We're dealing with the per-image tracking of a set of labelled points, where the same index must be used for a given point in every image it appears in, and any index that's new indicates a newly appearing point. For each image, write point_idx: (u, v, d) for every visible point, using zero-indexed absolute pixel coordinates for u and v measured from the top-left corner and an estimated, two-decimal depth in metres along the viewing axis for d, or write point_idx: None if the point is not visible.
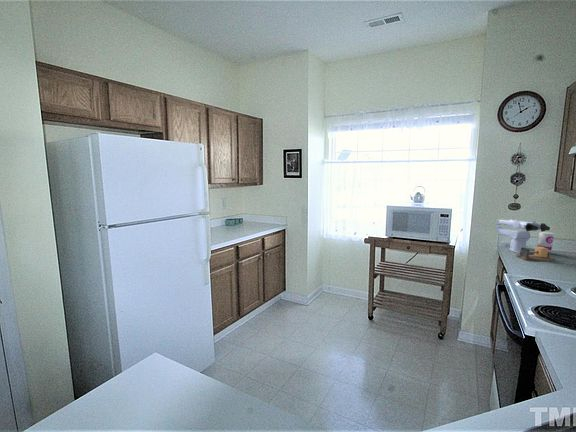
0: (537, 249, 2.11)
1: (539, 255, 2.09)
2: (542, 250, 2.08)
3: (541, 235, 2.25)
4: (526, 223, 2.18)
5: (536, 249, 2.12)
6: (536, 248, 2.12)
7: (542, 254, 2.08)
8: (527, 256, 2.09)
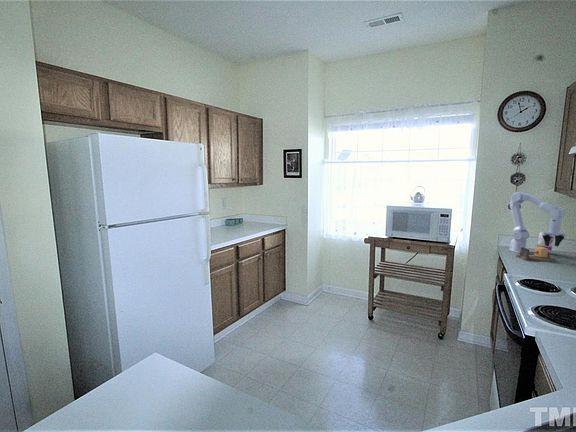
0: (537, 249, 2.11)
1: (539, 255, 2.09)
2: (542, 250, 2.08)
3: (541, 235, 2.25)
4: (553, 228, 2.06)
5: (536, 249, 2.12)
6: (536, 248, 2.12)
7: (542, 254, 2.08)
8: (527, 256, 2.09)
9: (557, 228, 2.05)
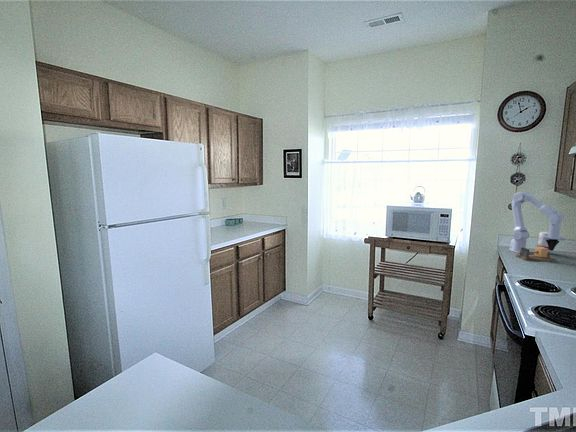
0: (537, 249, 2.11)
1: (539, 255, 2.09)
2: (542, 250, 2.08)
3: (541, 235, 2.25)
4: (553, 232, 2.06)
5: (536, 249, 2.12)
6: (536, 248, 2.12)
7: (542, 254, 2.08)
8: (527, 256, 2.09)
9: (556, 232, 2.05)
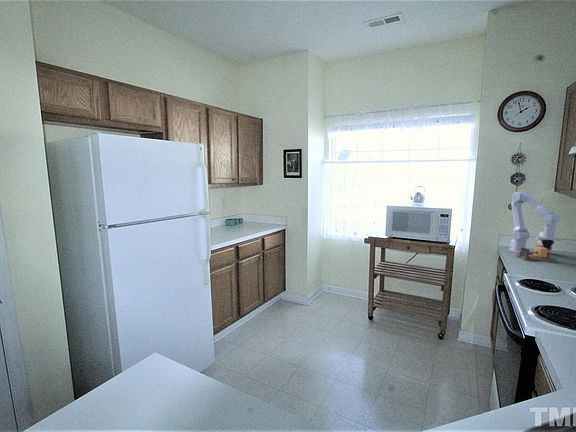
0: (536, 249, 2.11)
1: (538, 255, 2.09)
2: (541, 250, 2.08)
3: (541, 235, 2.25)
4: (548, 233, 2.07)
5: (535, 249, 2.12)
6: (535, 248, 2.12)
7: (541, 254, 2.08)
8: (527, 256, 2.09)
9: (551, 233, 2.06)
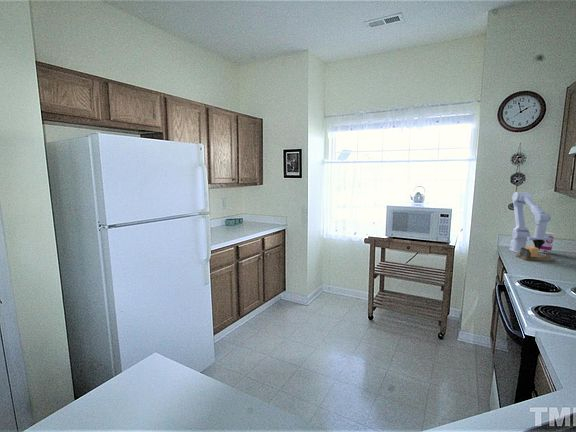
0: None
1: (530, 255, 2.09)
2: (533, 250, 2.08)
3: None
4: (539, 233, 2.07)
5: None
6: (527, 248, 2.12)
7: (533, 254, 2.08)
8: (527, 256, 2.09)
9: (542, 233, 2.06)
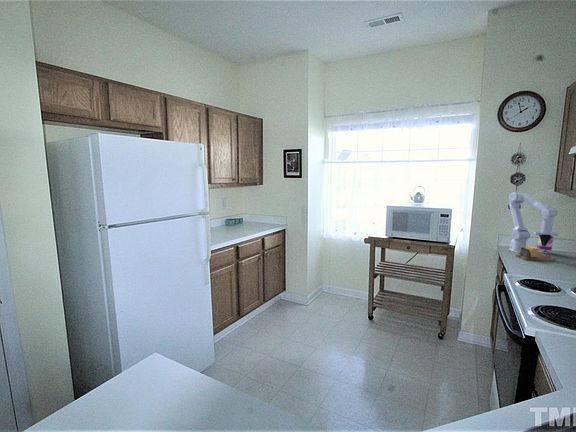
0: None
1: (530, 255, 2.09)
2: (533, 250, 2.08)
3: None
4: (545, 228, 2.06)
5: None
6: (527, 248, 2.12)
7: (533, 254, 2.08)
8: (527, 256, 2.09)
9: (549, 228, 2.05)
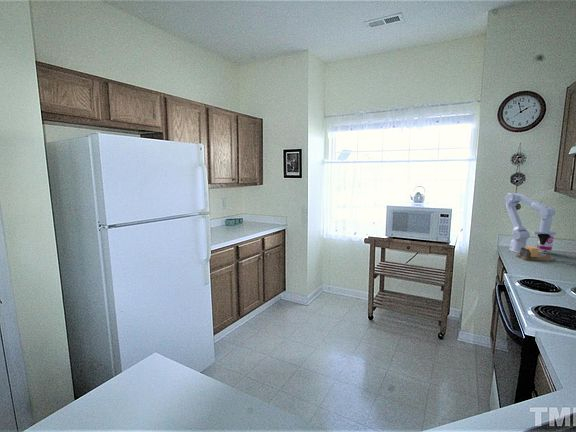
0: None
1: (530, 255, 2.09)
2: (533, 250, 2.08)
3: None
4: (544, 227, 2.09)
5: None
6: (527, 248, 2.12)
7: (533, 254, 2.08)
8: (527, 256, 2.09)
9: (547, 227, 2.08)
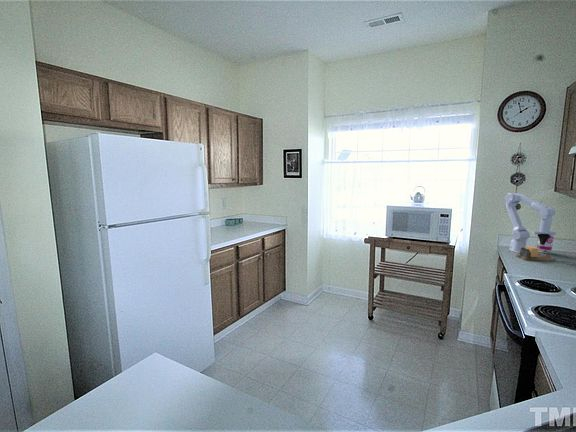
0: None
1: (530, 255, 2.09)
2: (533, 250, 2.08)
3: None
4: (544, 227, 2.09)
5: None
6: (527, 248, 2.12)
7: (533, 254, 2.08)
8: (527, 256, 2.09)
9: (547, 227, 2.08)
